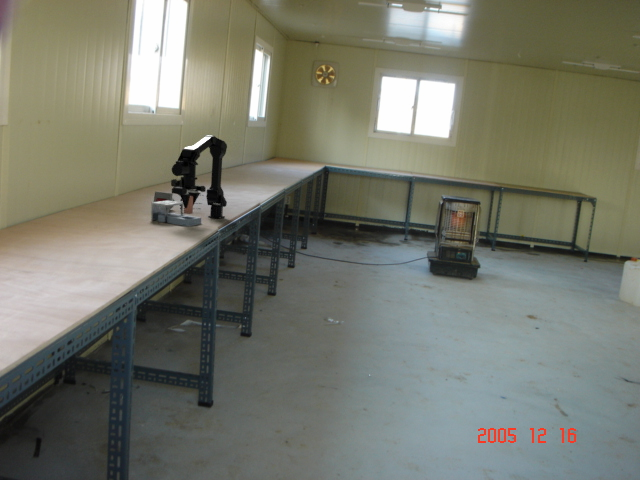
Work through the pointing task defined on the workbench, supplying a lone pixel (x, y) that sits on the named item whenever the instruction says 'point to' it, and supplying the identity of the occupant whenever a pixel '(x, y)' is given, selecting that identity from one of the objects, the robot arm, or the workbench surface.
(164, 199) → the voltmeter
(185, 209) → the peg
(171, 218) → the socket board
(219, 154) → the robot arm
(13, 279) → the workbench surface
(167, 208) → the awning
